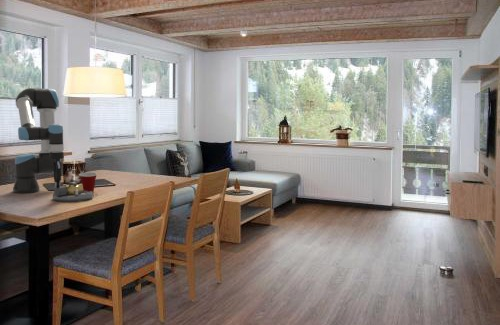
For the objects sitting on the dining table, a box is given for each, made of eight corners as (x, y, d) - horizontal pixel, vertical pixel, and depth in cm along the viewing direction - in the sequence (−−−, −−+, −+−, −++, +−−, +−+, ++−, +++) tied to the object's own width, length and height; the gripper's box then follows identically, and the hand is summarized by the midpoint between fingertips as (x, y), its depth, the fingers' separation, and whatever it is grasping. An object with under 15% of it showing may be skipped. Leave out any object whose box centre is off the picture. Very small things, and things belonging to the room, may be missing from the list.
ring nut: (73, 190, 281) (73, 180, 281) (87, 192, 276) (86, 182, 276) (49, 194, 266) (49, 184, 265) (62, 196, 261) (62, 186, 260)
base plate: (56, 195, 282) (55, 184, 281) (94, 194, 288) (94, 183, 287) (49, 202, 261) (49, 191, 260) (91, 201, 266) (91, 190, 266)
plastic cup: (77, 194, 288) (77, 174, 286) (81, 190, 298) (80, 172, 297) (96, 193, 289) (95, 174, 288) (98, 190, 300) (98, 172, 299)
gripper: (47, 150, 268) (48, 191, 271) (51, 153, 257) (53, 195, 260) (61, 150, 272) (62, 190, 275) (65, 152, 261) (67, 193, 264)
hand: (57, 192), depth 268 cm, fingers closed
